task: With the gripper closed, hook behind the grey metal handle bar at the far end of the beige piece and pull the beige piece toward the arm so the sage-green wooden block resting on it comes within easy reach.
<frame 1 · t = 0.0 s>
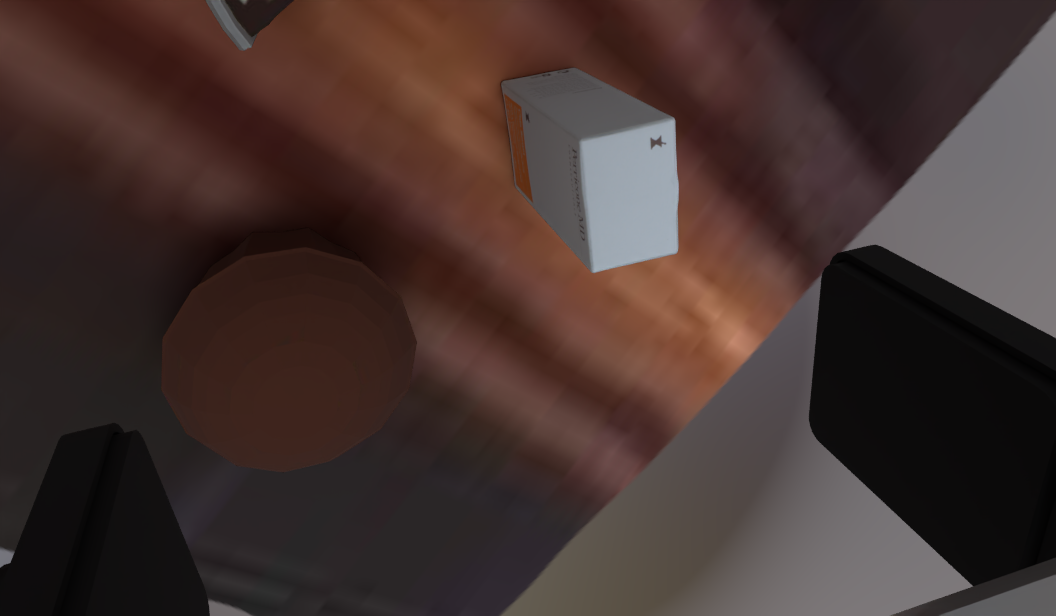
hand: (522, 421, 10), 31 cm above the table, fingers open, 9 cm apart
skincare box: (541, 129, 42), on the table
muffin: (289, 303, 42), on the table
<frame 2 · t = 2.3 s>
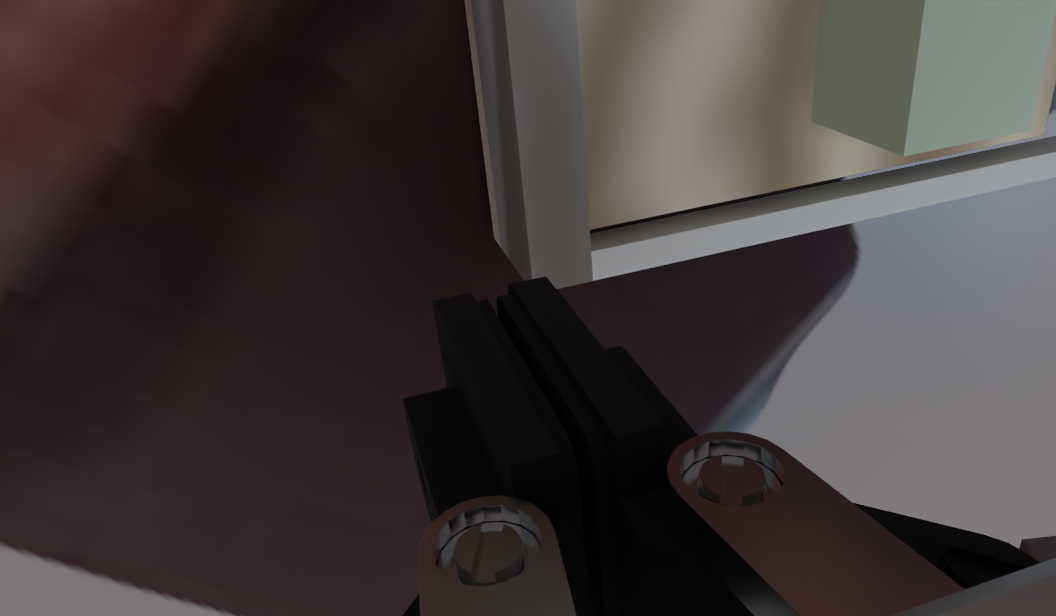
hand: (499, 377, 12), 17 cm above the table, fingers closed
lane rails: (831, 43, 30), on the table
beige piece: (830, 62, 27), point 3 cm above the table, slide at 0.0 cm, touching block
block: (875, 43, 29), point 1 cm above the table, touching beige piece
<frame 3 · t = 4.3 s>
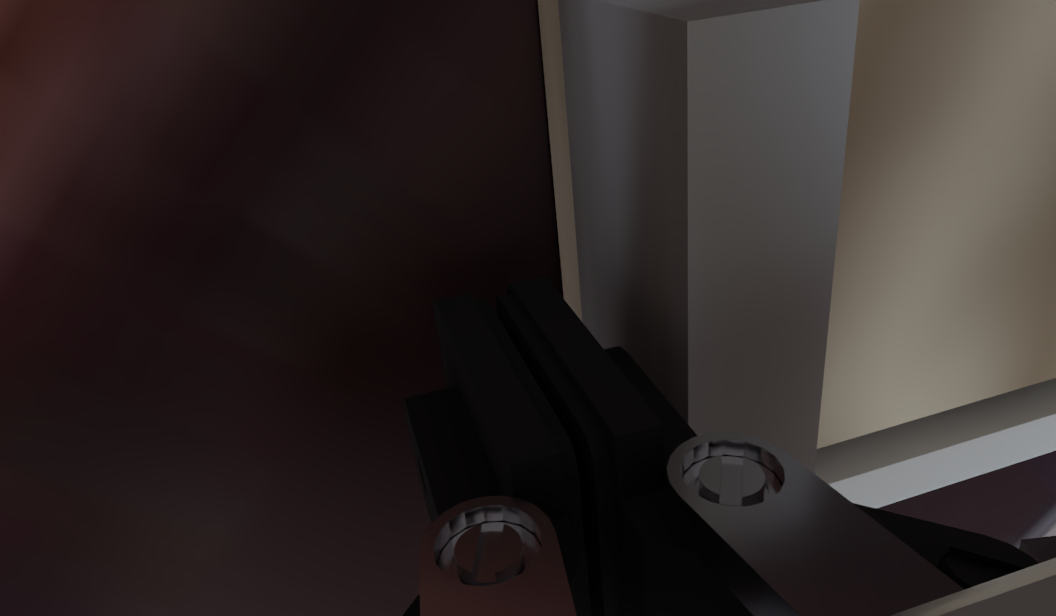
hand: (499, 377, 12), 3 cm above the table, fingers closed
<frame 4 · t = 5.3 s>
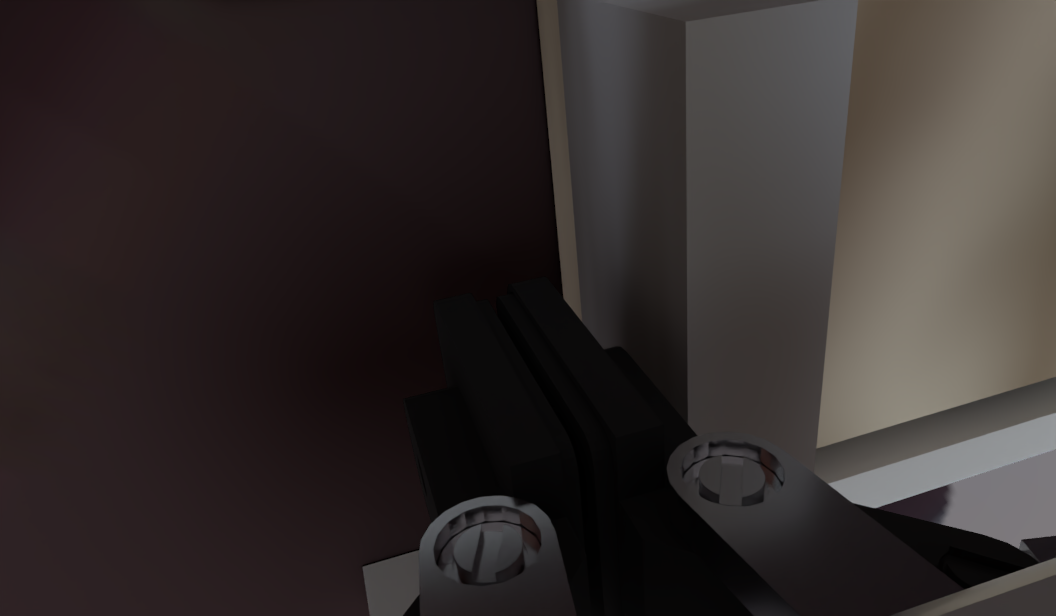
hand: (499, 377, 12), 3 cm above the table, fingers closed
lane rails: (926, 188, 16), on the table
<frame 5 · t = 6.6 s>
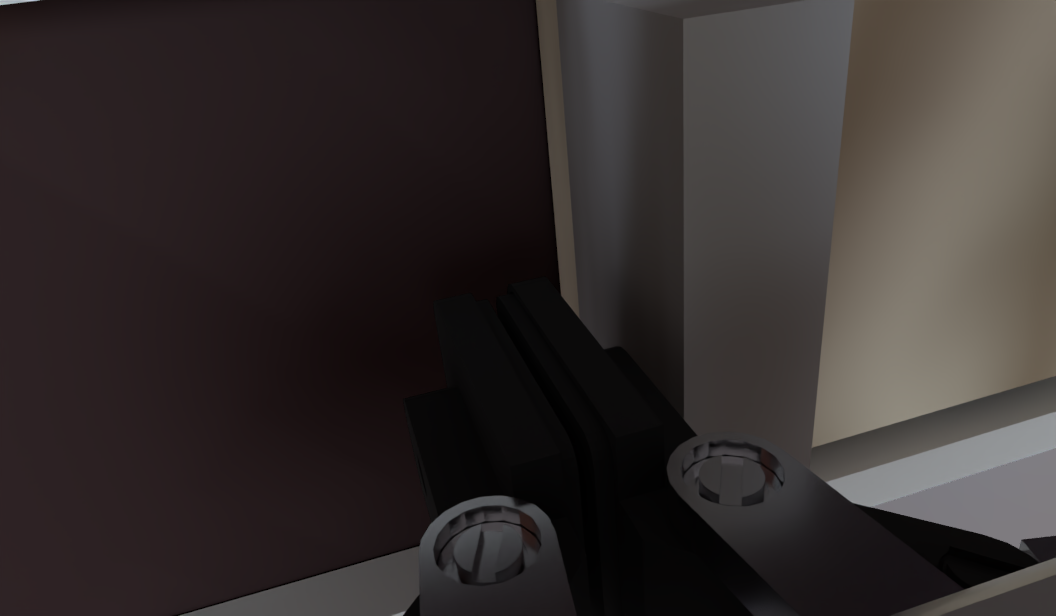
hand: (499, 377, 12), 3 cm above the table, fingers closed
lane rails: (749, 226, 15), on the table
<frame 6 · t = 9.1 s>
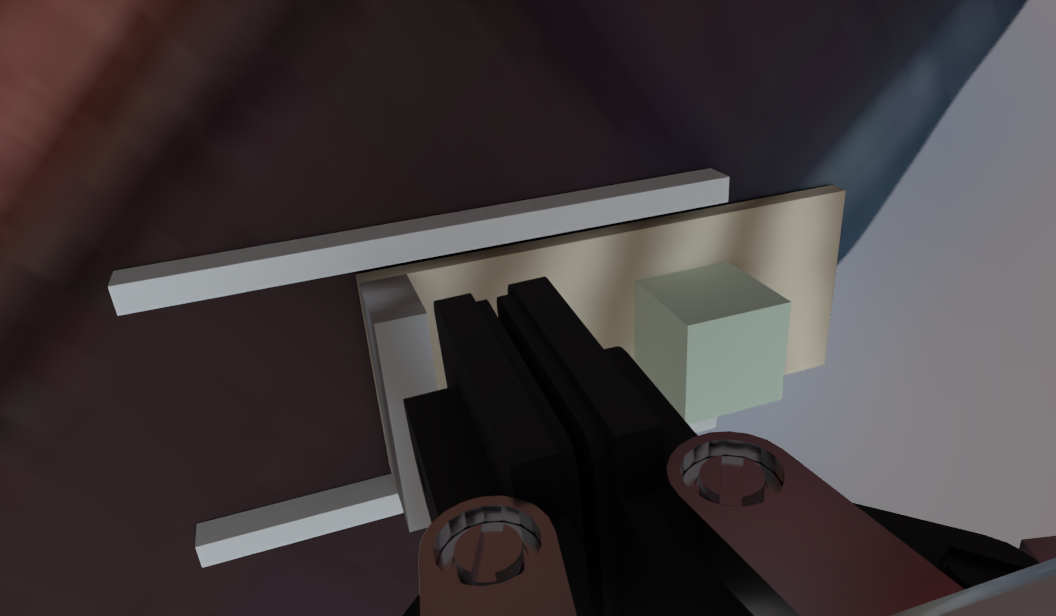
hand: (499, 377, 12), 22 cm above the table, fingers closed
lane rails: (459, 354, 36), on the table
beige piece: (639, 343, 36), point 3 cm above the table, slide at 9.9 cm, touching block
block: (680, 317, 38), point 1 cm above the table, touching beige piece
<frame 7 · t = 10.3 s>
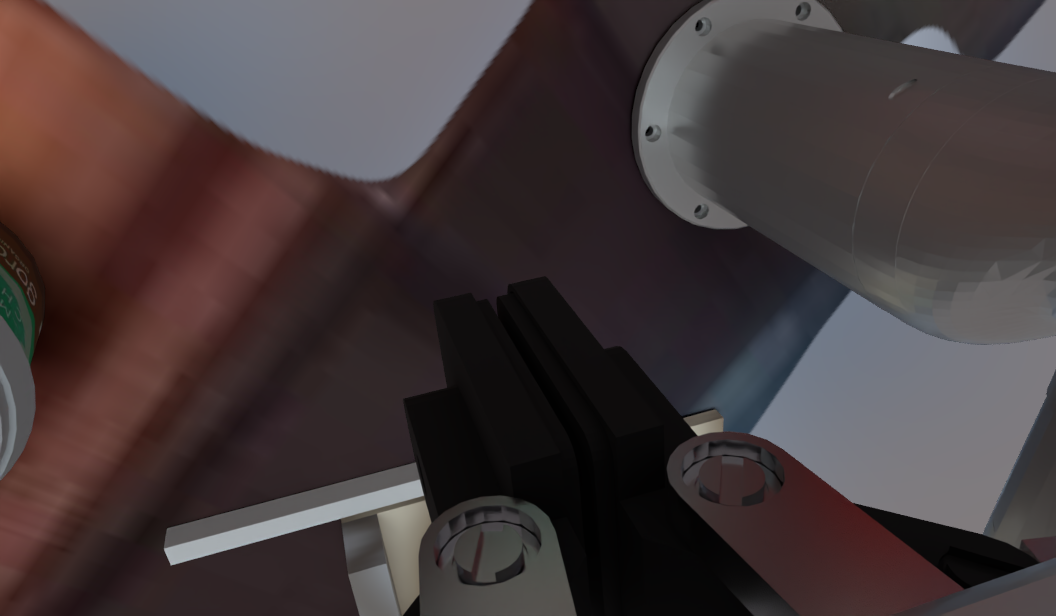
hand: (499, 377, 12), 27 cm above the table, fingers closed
lane rails: (422, 552, 48), on the table
beige piece: (557, 546, 48), point 3 cm above the table, slide at 9.9 cm, touching block
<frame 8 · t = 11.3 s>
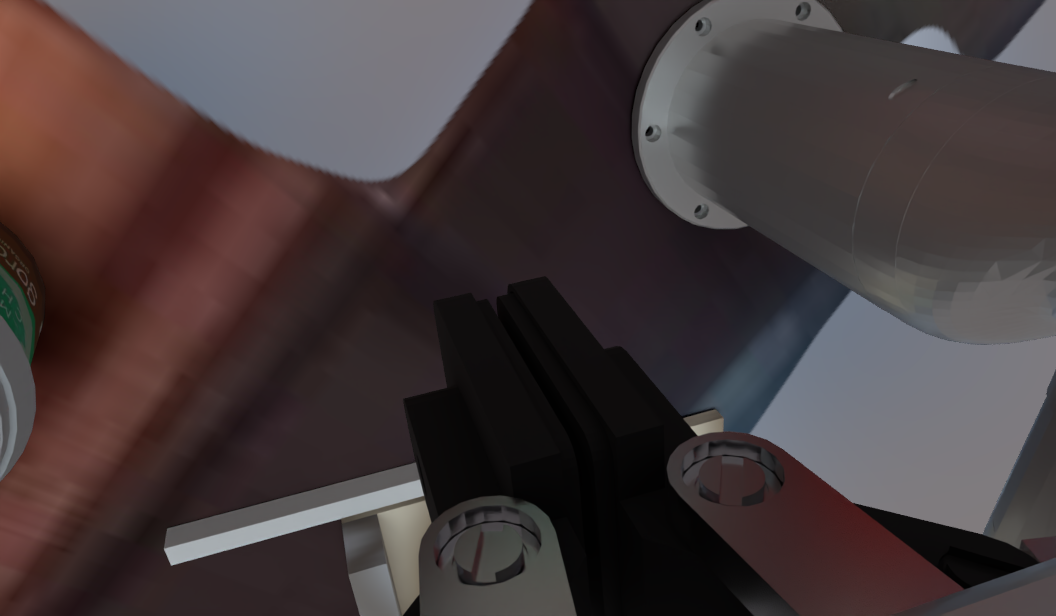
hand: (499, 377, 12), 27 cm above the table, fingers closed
lane rails: (423, 552, 48), on the table
beige piece: (557, 546, 48), point 3 cm above the table, slide at 9.9 cm, touching block
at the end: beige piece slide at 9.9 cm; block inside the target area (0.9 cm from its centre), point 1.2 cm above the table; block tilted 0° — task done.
